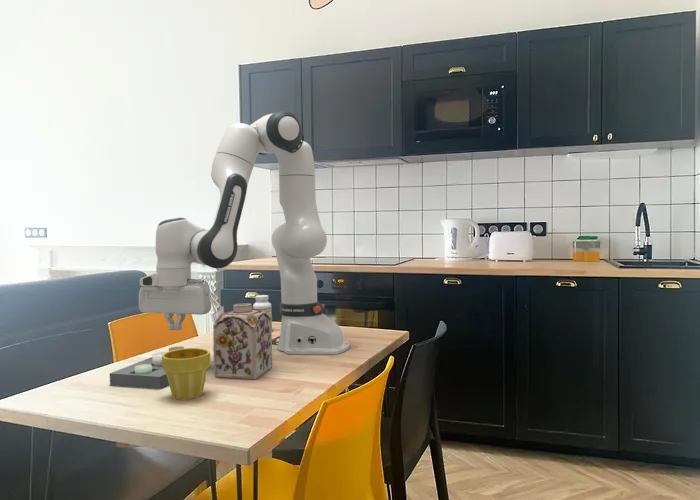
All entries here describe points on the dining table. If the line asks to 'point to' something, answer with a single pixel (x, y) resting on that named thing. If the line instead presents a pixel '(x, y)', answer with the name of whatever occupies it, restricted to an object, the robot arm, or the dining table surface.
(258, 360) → the decorative jar
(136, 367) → the sage button
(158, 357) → the ivory button
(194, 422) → the dining table surface
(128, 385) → the button console
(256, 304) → the supplement bottle
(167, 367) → the plant pot
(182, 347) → the terracotta button
